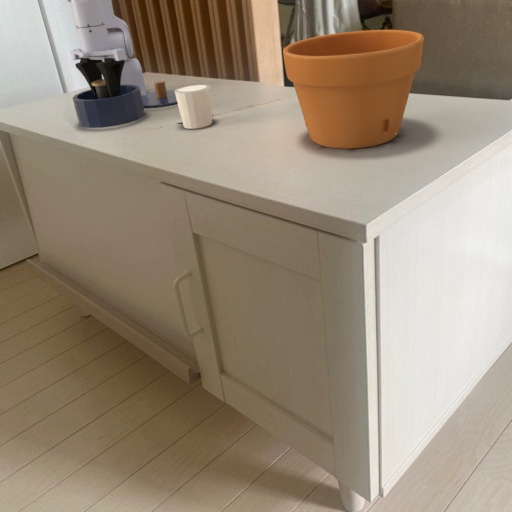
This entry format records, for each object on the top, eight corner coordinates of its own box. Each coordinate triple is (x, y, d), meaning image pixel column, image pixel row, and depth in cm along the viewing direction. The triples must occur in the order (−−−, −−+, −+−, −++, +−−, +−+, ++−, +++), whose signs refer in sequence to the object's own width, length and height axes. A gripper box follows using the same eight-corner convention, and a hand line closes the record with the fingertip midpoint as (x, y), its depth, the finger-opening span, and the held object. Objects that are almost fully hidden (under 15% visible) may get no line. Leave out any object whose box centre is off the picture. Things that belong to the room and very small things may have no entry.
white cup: (220, 119, 107) (215, 83, 104) (206, 129, 101) (201, 91, 98) (189, 119, 109) (183, 84, 106) (174, 129, 104) (167, 92, 100)
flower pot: (345, 167, 77) (342, 59, 70) (265, 138, 93) (256, 47, 86) (447, 132, 86) (455, 33, 79) (358, 111, 102) (358, 27, 95)
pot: (133, 108, 123) (128, 81, 120) (153, 119, 112) (148, 90, 109) (74, 121, 118) (66, 93, 115) (89, 134, 107) (81, 104, 104)
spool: (116, 98, 116) (111, 77, 114) (122, 102, 112) (117, 80, 110) (94, 103, 114) (89, 81, 112) (100, 107, 110) (94, 84, 108)
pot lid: (180, 91, 134) (177, 72, 132) (204, 100, 123) (201, 79, 121) (123, 103, 129) (119, 83, 126) (143, 114, 117) (139, 92, 115)
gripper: (51, 29, 107) (70, 98, 114) (98, 28, 99) (115, 102, 106) (80, 24, 112) (96, 90, 118) (127, 22, 104) (141, 94, 110)
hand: (107, 96), depth 112 cm, fingers closed on spool, 4 cm apart
